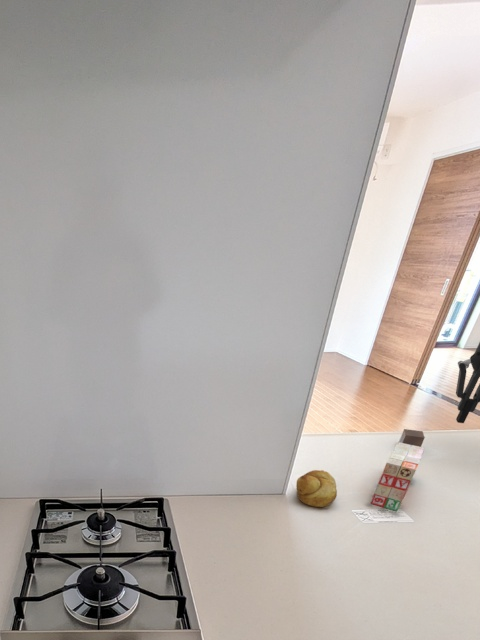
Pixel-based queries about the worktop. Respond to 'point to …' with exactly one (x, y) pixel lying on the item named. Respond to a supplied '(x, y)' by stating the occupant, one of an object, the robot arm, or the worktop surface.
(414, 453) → the stack of blocks
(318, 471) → the bread roll
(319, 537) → the worktop surface
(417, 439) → the walnut block
